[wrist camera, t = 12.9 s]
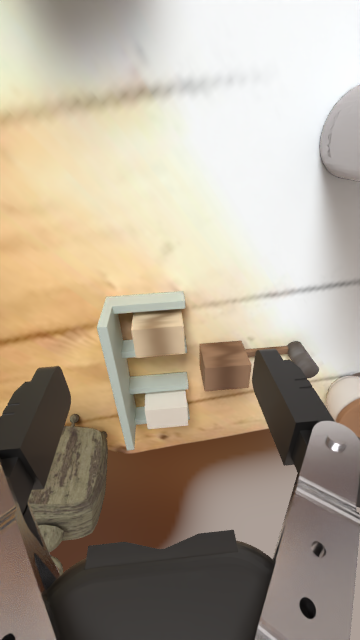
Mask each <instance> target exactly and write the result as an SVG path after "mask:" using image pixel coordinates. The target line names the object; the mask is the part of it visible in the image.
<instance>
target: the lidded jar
mask: <svg viewBox="0 0 360 640" xmlns="http://www.w3.org/2000/svg"><path fill="white" fill-rule="evenodd" d="M327 408H328V411H329V413H330V414H331V416H332V418H333V419H334V420H335V422H337V423H340V424H342V425H344V426H346V427H348V428H349V429H350V430H352V431H353V432H354V433H355V434H356V436H357V437H359V438H360V377H357V376H351V375H349V376H343V377H341V378H339V379H337V380H335V381H334V382H333V383H332V384H331V385H330V387H329V392H328V395H327Z"/></svg>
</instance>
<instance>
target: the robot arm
mask: <svg viewBox="0 0 360 640" xmlns="http://www.w3.org/2000/svg"><path fill="white" fill-rule="evenodd" d="M320 154H321V158H322V161H323V164H324V165H325V167H326V169H327V170H328V171H329V172H330V173H331V174H333V175H335V176H337V177H339V178H344V179H350V180H355V181H359V182H360V85H358V86H356V87H355V88H353V89H351V90H350V91H348V92H347V93H346V94H345V95H344V96H342V97H341V99H340V100H339V101H338V102H337V103H336V104H335V105H334V107H333V109H332V110H331V112H330V113H329V115H328V117H327V119H326V121H325V124H324V126H323V130H322V134H321V140H320ZM252 383H253V389H254V392H255V395H256V397H257V400H258V402H259V404H260V407H261V409H262V412H263V414H264V417H265V419H266V422H267V424H268V427H269V429H270V432H271V434H272V437H273V439H274V442H275V444H276V447H277V449H278V451H279V454H280V456H281V459H282V462H283V464H284V465H293V464H294V465H295V467H296V469H297V472H298V474H297V477H296V481H295V484H294V488H293V491H292V495H291V498H290V502H289V505H288V508H287V512H286V515H285V519H284V522H283V526H282V529H281V533H280V535H279V539H278V542H277V545H276V549H275V553H274V555H273V559H271V558H270V557H269V556H268V555H266V554H265V553H263V552H262V551H261V550H259V549H257V548H255V547H253V546H251V545H249V544H246V543H243V542H240V541H236V538H235V534H234V530H228V531H219V532H210V533H201V534H197V535H195V536H193V537H190V538H188V539H186V540H183V541H181V542H179V543H177V544H174V545H172V546H170V547H168V548H166V549H155V548H150V547H146V546H141V545H137V544H132V543H127V542H120V543H111V544H102V545H93V546H88V553H87V558H86V559H84V560H82V561H80V562H78V563H76V564H75V565H73V566H72V567H70V568H69V569H68V570H66V571H65V572H64V573H63V574H62V575H61V576H60V574H59V572H58V569H57V567H56V566H55V563H54V561H53V560H52V558H51V556H50V554H49V552H48V549H47V547H46V544H45V542H44V539H43V537H42V534H41V532H40V529H39V527H38V524H37V522H36V519H35V517H34V514H33V511H32V509H31V506H30V504H29V502H28V499H29V497H30V494H31V491H32V490H38V489H44V488H45V484H46V481H47V478H48V475H49V472H50V469H51V466H52V463H53V459H54V456H55V453H56V450H57V447H58V444H59V441H60V437H61V434H62V431H63V428H64V425H65V422H66V419H67V416H68V412H69V409H70V405H71V395H70V391H69V389H68V386H67V383H66V380H65V378H64V375H63V372H62V370H61V368H60V367H59V366H55V367H43V368H38V369H37V371H36V372H35V374H34V376H33V378H32V380H31V382H25V383H24V384H23V385H22V386H20V387H19V388H18V389H17V390H16V391H15V392H14V394H13V395H12V397H11V399H10V401H9V403H8V406H6V408H5V410H4V411H3V413H2V416H1V417H0V640H350V632H351V621H352V610H353V600H354V588H355V578H356V567H357V556H358V546H359V533H360V514H359V513H358V512H356V507H360V438H359V437H357V436H356V434H355V433H354V432H353V431H352V430H350V429H349V428H348V427H346V426H344V425H342V424H340V423H337V422H335V420H334V419H333V418H332V416H331V414H330V413H329V411H328V410H327V408H326V407H325V405H324V404H323V402H322V401H321V399H320V398H319V396H318V394H317V393H316V391H315V390H314V388H312V385H311V384H310V382H309V381H308V380H307V378H306V376H305V374H304V373H303V371H302V370H301V368H300V367H298V366H297V365H296V364H294V363H293V362H292V361H291V360H283V359H282V358H281V356H280V354H279V353H278V351H277V350H276V349H264V350H257V351H256V353H255V360H254V368H253V376H252Z"/></svg>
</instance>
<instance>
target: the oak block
mask: <svg viewBox="0 0 360 640" xmlns="http://www.w3.org/2000/svg"><path fill="white" fill-rule="evenodd" d="M131 332H132V338H133V343H134V349H135V355H136V358H143V357H154V356H165V355H176V354H185V341H184V324H183V318H182V312H181V309H171V310H158V311H145V312H133V319H132V328H131Z"/></svg>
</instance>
